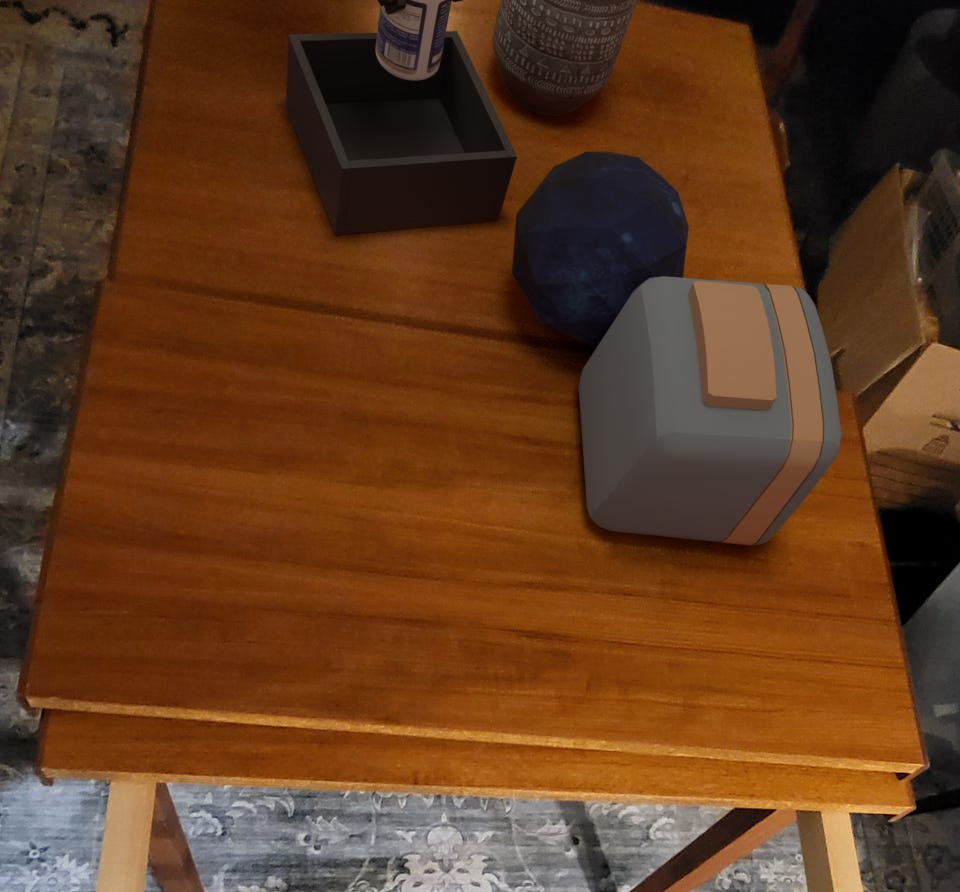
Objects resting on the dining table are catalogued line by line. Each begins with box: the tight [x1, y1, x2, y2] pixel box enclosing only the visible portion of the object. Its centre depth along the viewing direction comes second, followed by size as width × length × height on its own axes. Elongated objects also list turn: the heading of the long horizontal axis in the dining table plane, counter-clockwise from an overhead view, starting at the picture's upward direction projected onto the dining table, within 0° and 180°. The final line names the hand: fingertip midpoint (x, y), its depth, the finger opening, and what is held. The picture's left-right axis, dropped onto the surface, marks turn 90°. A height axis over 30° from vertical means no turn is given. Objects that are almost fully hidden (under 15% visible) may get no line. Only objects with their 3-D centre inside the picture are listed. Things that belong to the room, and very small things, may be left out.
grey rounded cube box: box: [578, 276, 842, 546], centre depth 73 cm, size 16×16×16 cm
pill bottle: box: [376, 0, 453, 81], centre depth 74 cm, size 5×5×10 cm
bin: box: [285, 30, 518, 236], centre depth 84 cm, size 16×16×7 cm
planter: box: [491, 0, 638, 117], centre depth 90 cm, size 12×12×13 cm
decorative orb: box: [511, 150, 690, 345], centre depth 79 cm, size 14×15×15 cm
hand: (430, 4), depth 73 cm, fingers closed on pill bottle, 5 cm apart
